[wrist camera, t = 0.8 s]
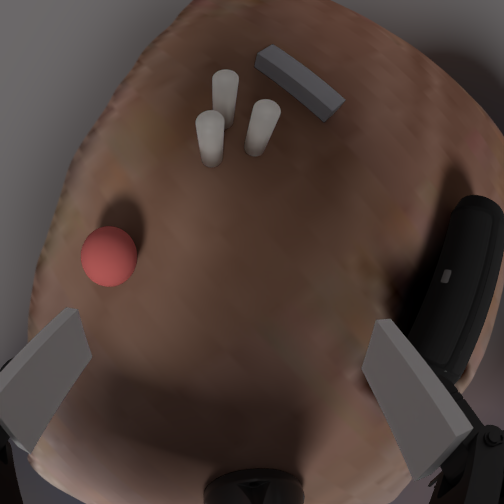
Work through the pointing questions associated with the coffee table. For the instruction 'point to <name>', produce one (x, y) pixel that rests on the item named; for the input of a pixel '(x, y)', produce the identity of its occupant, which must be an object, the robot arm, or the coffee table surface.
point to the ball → (109, 256)
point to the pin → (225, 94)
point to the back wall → (299, 81)
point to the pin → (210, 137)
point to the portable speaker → (460, 287)
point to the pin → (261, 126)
